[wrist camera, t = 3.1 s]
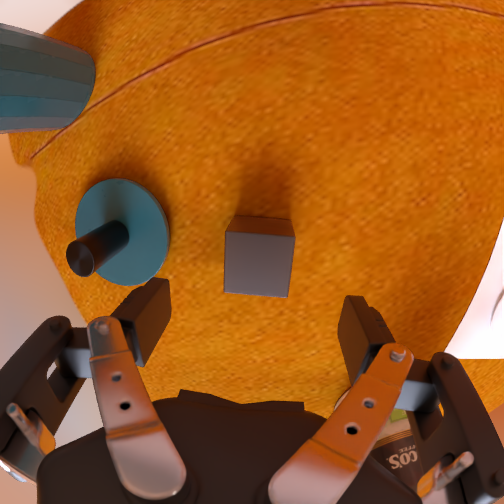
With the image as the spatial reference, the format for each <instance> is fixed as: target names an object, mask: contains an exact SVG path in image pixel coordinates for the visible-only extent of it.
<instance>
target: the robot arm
mask: <svg viewBox="0 0 504 504" xmlns="http://www.w3.org/2000/svg"><path fill="white" fill-rule="evenodd" d="M170 317H171V298H170V285H169V281H168V279H164V278H155V277H152V278H151V279H150V280H149V281H148V282H147V283H146V284H145V285H144V286H140V287H138V288H136V289H134V290H132V291H131V293H130V294H129V295H128V296H127V298H125V299H124V300H123V303H121V304H120V305H119V306H118V307H117V308H116V309H115V311H114V312H113V313H112V314H111V315H110V316H102V317H98V318H95V319H94V320H92V321H91V322H90V323H89V324H88V326H87V328H77V327H75V328H73V327H72V326H71V323H70V320H69V319H68V318H67V317H65V316H54V317H51V318H48V319H47V320H46V321H44V322H43V323H42V324H41V325H40V326H39V327H38V328H37V329H36V330H35V331H34V333H33V334H32V335H31V336H30V337H29V338H28V339H27V340H26V341H25V342H24V343H23V345H22V346H21V347H20V348H19V349H18V350H17V351H16V352H15V354H14V355H13V356H12V357H11V358H10V359H9V361H7V363H6V364H5V365H4V366H3V367H2V369H1V370H0V467H1V468H2V469H4V470H5V471H6V472H8V473H9V474H10V475H11V476H12V477H13V478H15V479H16V480H18V481H21V482H26V481H28V482H29V483H31V484H33V485H34V486H36V487H37V504H493V503H494V502H496V501H497V500H499V499H500V498H502V497H503V496H504V448H503V446H502V443H501V441H500V439H499V436H498V434H497V432H496V430H495V427H494V425H493V423H492V421H491V419H490V417H489V415H488V413H487V411H486V409H485V407H484V405H483V403H482V401H481V399H480V397H479V395H478V393H477V391H476V389H475V388H474V386H473V384H472V382H471V380H470V379H469V377H468V375H467V373H466V372H465V370H464V368H463V367H462V365H461V363H460V362H459V360H458V359H457V358H456V357H455V356H453V355H451V354H449V353H446V352H437V353H435V354H434V355H433V357H432V359H431V361H424V360H418V359H414V355H413V353H412V352H411V350H410V349H409V348H407V347H406V346H404V345H402V344H398V343H396V342H395V340H394V338H393V336H392V334H391V332H390V331H389V329H388V327H387V325H386V323H385V321H384V320H383V318H382V316H381V314H380V313H379V312H378V311H377V310H375V309H374V308H373V307H369V306H368V304H367V303H366V301H365V299H364V297H363V296H353V295H347V296H346V297H345V300H344V304H343V308H342V312H341V316H340V320H339V324H338V339H339V342H340V346H341V349H342V353H343V356H344V360H345V364H346V367H347V371H348V375H349V378H350V382H351V386H352V388H351V389H350V391H349V392H348V393H347V395H346V396H345V398H344V399H343V400H342V401H341V403H340V404H339V405H338V407H337V408H336V409H335V411H334V412H333V413H332V414H331V416H330V417H329V418H328V419H325V418H324V417H322V416H320V415H317V414H315V413H312V412H308V411H304V402H293V401H266V402H257V403H248V404H239V403H235V402H232V401H229V400H226V399H223V398H220V397H217V396H214V395H211V394H207V393H200V392H194V391H188V390H183V389H180V392H179V395H178V397H173V398H165V399H160V400H156V401H153V402H151V400H150V397H149V395H148V393H147V390H146V388H145V386H144V383H143V381H142V378H141V376H140V373H139V371H138V368H137V366H140V367H144V366H145V364H146V362H147V361H148V359H149V357H150V355H151V353H152V351H153V350H154V348H155V346H156V344H157V342H158V341H159V339H160V337H161V335H162V333H163V332H164V330H165V328H166V326H167V324H168V323H169V321H170ZM53 362H55V364H56V366H57V367H56V369H55V370H54V371H53V373H52V374H51V375H50V377H49V378H48V380H47V371H48V368H49V367H50V366H51V365H52V363H53ZM87 378H92V379H93V385H94V389H95V393H96V398H97V403H98V407H99V411H100V415H101V418H102V422H103V426H104V427H102V428H100V429H98V430H96V431H94V432H92V433H90V434H87V435H86V436H83V437H81V438H79V439H77V440H74V441H72V442H70V443H68V444H65V445H63V446H61V447H58V448H57V449H55V446H56V442H55V438H54V435H55V433H56V431H57V429H58V428H59V426H60V424H61V422H62V420H63V418H64V417H65V415H66V413H67V411H68V409H69V408H70V406H71V404H72V402H73V401H74V399H75V397H76V396H77V394H78V392H79V390H80V389H81V387H82V385H83V384H84V382H85V380H86V379H87ZM440 402H441V405H442V407H443V410H444V417H443V416H442V414H441V411H440V409H439V406H438V405H439V404H440ZM394 408H395V409H401V410H405V411H406V414H407V417H408V421H409V424H410V428H411V431H412V435H413V438H414V442H415V446H416V450H417V454H418V458H419V462H420V466H421V470H422V475H423V476H422V477H421V478H420V479H419V481H418V484H417V493H416V492H415V491H414V490H413V489H412V488H410V487H409V486H408V485H406V484H405V483H404V482H402V481H401V480H400V479H399V478H397V477H396V476H395V475H393V474H392V473H391V472H390V471H388V470H387V469H386V468H385V467H383V466H382V465H381V464H380V463H379V462H377V461H376V460H375V459H374V458H372V457H371V456H370V455H369V453H370V451H371V450H372V448H373V446H374V444H375V443H376V441H377V439H378V437H379V436H380V434H381V432H382V430H383V428H384V427H385V425H386V423H387V421H388V419H389V417H390V415H391V413H392V411H393V409H394Z"/></svg>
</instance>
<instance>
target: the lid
mask: <svg viewBox="0 0 504 504" xmlns="http://www.w3.org/2000/svg"><path fill="white" fill-rule="evenodd" d="M75 230H76V237H77V239H76V240H75V241H73V242H71V243H70V244H69V245H68V247H67V250H66V258H67V262H68V264H69V266H70V268H71V269H72V270H73V272H74V273H76V274H77V275H79V276H81V277H88V276H90V275H91V274H92V273H94V272H96V273H98V274H99V275H100V276H101V277H103V278H104V279H106V280H108V281H110V282H112V283H115V284H118V285H124V286H133V285H138V284H142V283H144V282H146V281H148V280H149V279H151V278H152V277H153V276H154V275H155V274H156V273H157V272H158V271H159V270H160V268H161V267H162V266H163V264H164V262H165V260H166V258H167V255H168V251H169V245H170V232H169V226H168V222H167V218H166V216H165V213H164V211H163V209H162V207H161V205H160V204H159V202H158V201H157V199H156V198H155V197H154V196H153V194H152V193H151V192H149V191H148V190H147V189H146V188H145V187H143V186H142V185H140V184H138V183H136V182H134V181H132V180H129V179H124V178H113V179H107V180H104V181H101V182H99V183H97V184H95V185H94V186H93V187H91V188H90V189H89V190H88V191H87V192H86V193H85V195H84V196H83V198H82V199H81V201H80V203H79V206H78V209H77V213H76V219H75Z"/></svg>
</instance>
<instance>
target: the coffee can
mask: <svg viewBox="0 0 504 504" xmlns="http://www.w3.org/2000/svg"><path fill="white" fill-rule="evenodd" d="M349 391H350V389H349V390H348V391H347V392H346V393H345V394H344V395H343V396H342V397H341V398H340V399H339V400H338V402H337V403H336V405H335V409H336V408H337V407H338V405H339V404H340V403H341V401H342V400H343V399H344V398H345V396H346V395H347V393H348V392H349ZM335 409H334V411H335ZM369 455H370V456H371V457H372V458H374V459H375V460H376V461H377V462H379V463H380V464H381V465H382V466H383V467H385V468H386V469H387V470H388V471H390V472H391V473H392V474H393V475H395V476H396V477H397V478H399V479H400V480H401V481H402V482H404V483H405V484H406V485H408V486H409V487H410V488H412V489H413V490H414V491H415V492H416V493H417V484H418V481H419V479H420V478H421V477H422V476H423V475H422V470H421V466H420V462H419V458H418V454H417V450H416V446H415V442H414V438H413V435H412V431H411V428H410V424H409V421H408V417H407V414H406V411H405V410H401V409H395V408H394V409H393V411H392V413H391V415H390V417H389V419H388V421H387V423H386V425H385V427H384V428H383V430H382V432H381V434H380V436H379V437H378V439H377V441H376V443H375V444H374V446H373V448H372V450H371V451H370V453H369Z"/></svg>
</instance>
